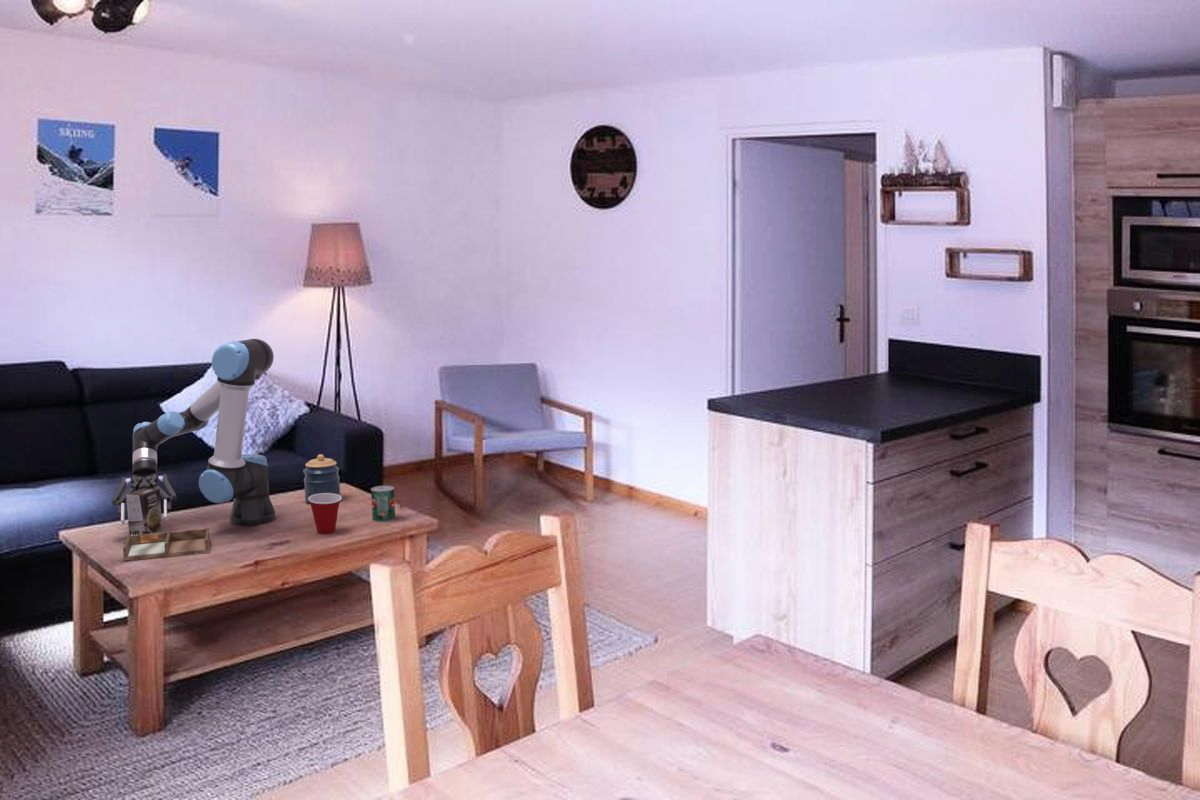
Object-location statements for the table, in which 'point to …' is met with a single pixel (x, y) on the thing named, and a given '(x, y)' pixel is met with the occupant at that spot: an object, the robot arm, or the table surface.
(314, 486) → the canister
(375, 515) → the canned tomato
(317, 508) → the plastic cup
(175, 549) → the tray
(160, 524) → the coffee box
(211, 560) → the table surface
